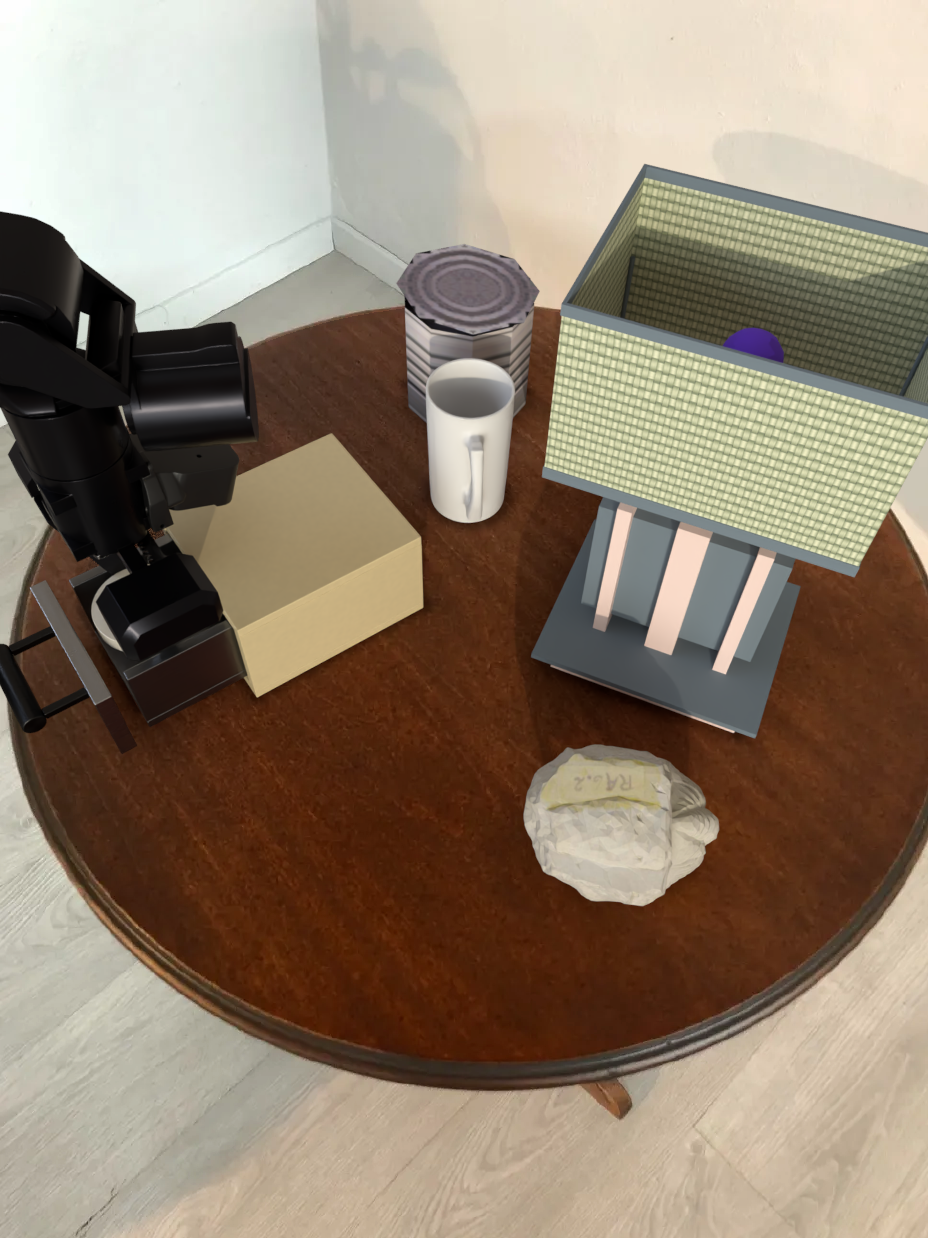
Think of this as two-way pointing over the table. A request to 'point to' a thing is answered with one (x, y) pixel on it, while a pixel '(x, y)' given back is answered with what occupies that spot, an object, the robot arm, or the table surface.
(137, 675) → the drawer
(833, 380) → the desk lamp
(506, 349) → the can
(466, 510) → the mug
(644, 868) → the fossil replica
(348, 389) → the table surface
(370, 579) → the tan cardboard box
